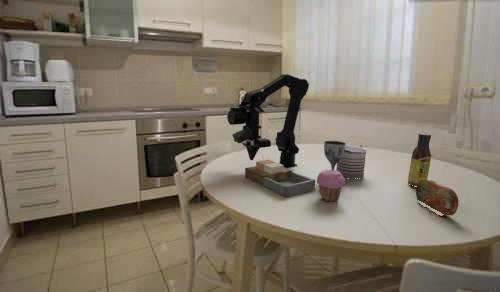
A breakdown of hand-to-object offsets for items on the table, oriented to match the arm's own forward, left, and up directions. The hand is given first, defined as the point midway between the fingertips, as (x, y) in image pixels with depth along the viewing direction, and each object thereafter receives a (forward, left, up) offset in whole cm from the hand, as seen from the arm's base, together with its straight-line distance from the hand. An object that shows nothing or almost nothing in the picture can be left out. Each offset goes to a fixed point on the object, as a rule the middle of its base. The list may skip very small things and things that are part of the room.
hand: (251, 160), depth 124 cm
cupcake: (-4, +39, -5) cm, 39 cm away
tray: (0, +24, -5) cm, 24 cm away
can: (-32, +26, -5) cm, 41 cm away
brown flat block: (0, +12, -5) cm, 13 cm away
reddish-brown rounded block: (-25, +62, -5) cm, 67 cm away
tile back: (0, +10, -1) cm, 10 cm away
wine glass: (-21, +26, -5) cm, 34 cm away
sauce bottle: (-43, +48, -5) cm, 64 cm away
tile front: (0, +15, -1) cm, 15 cm away
